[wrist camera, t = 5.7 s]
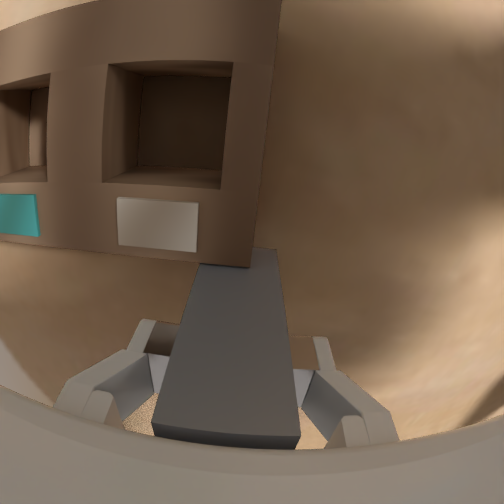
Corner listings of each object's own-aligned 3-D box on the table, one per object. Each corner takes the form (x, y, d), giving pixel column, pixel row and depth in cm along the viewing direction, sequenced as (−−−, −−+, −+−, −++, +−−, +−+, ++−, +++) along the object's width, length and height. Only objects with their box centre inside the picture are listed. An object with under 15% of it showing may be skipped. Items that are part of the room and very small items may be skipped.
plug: (276, 249, 13) (301, 435, 5) (267, 306, 15) (275, 485, 7) (207, 242, 13) (150, 421, 5) (204, 299, 15) (166, 475, 6)
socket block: (273, 26, 11) (282, -7, 7) (249, 230, 15) (250, 270, 11) (21, 48, 10) (-27, 42, 6) (18, 212, 14) (-26, 239, 11)
